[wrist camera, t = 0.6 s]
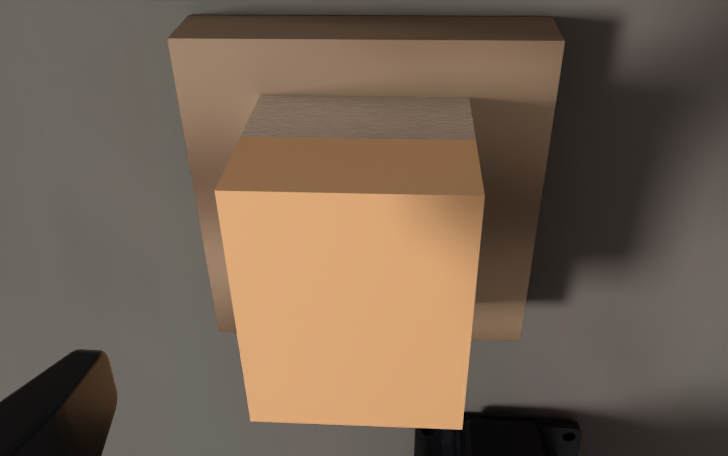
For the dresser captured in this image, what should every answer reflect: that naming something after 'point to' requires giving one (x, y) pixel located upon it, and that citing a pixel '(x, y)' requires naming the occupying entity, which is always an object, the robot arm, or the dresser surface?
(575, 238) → the dresser surface
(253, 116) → the housing base
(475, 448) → the robot arm
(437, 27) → the walnut stand
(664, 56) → the dresser surface
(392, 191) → the cover
